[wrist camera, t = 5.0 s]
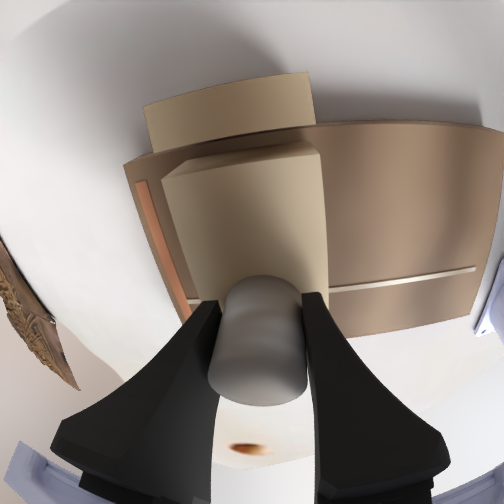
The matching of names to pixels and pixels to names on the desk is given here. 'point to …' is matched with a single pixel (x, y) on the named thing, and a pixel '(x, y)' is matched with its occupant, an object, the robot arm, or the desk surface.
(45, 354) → the wooden fragment
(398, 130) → the board
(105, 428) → the robot arm
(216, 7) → the desk surface
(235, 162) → the beige block with knob
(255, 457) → the desk surface
